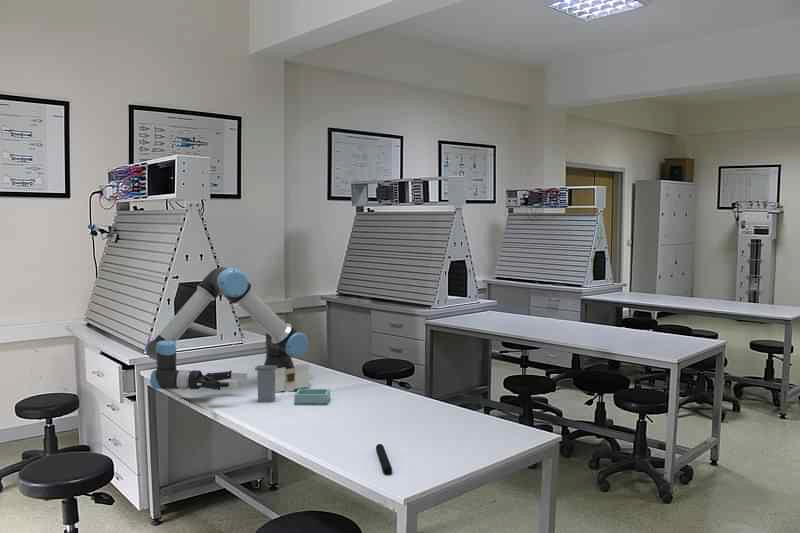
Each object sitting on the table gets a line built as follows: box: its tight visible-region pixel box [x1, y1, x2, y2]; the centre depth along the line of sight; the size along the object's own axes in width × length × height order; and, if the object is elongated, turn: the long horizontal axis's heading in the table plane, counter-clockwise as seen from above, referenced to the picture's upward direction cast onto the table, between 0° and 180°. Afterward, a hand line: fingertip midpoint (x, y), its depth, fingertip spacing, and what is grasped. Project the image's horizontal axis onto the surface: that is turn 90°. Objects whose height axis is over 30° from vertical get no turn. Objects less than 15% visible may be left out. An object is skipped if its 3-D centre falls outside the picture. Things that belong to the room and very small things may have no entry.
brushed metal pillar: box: [254, 364, 277, 403], centre depth 248 cm, size 4×8×14 cm, turn 89°
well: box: [293, 388, 331, 406], centre depth 247 cm, size 9×13×4 cm
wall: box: [275, 363, 310, 393], centre depth 269 cm, size 16×9×15 cm
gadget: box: [375, 443, 393, 476], centre depth 185 cm, size 2×2×20 cm
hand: (242, 380), depth 248 cm, fingers open, 13 cm apart
